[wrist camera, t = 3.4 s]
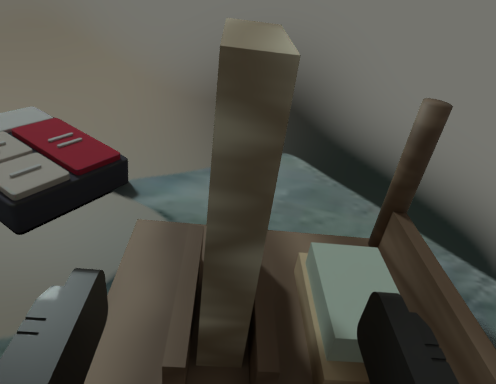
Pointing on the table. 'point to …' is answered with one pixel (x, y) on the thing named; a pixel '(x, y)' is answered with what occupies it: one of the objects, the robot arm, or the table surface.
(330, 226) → the table surface
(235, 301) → the beige wooden block
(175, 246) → the rack
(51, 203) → the calculator
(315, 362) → the offcut lower
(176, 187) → the table surface
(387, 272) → the offcut upper
